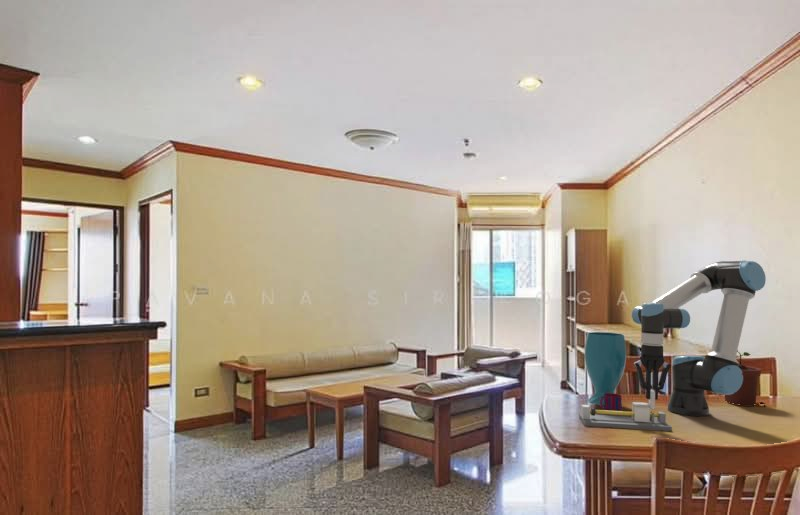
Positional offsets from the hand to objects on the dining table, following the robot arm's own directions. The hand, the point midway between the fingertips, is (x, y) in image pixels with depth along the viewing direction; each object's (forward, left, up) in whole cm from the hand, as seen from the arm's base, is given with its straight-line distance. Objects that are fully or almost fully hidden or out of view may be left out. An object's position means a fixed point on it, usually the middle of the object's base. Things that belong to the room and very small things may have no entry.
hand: (651, 408), depth 202 cm
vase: (+9, -37, -7) cm, 39 cm away
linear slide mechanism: (+10, 0, -7) cm, 12 cm away
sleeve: (+4, 0, -5) cm, 6 cm away
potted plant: (-54, -52, -7) cm, 76 cm away
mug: (+11, -19, -7) cm, 23 cm away
